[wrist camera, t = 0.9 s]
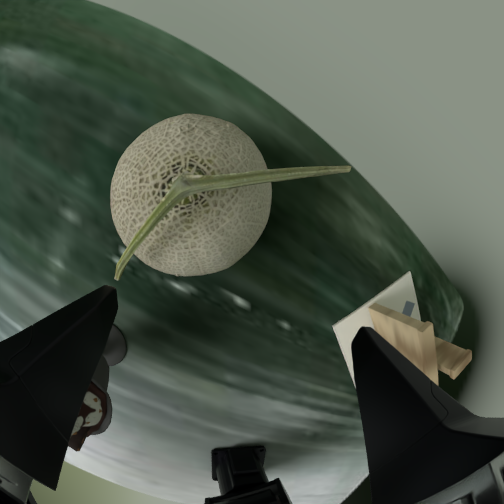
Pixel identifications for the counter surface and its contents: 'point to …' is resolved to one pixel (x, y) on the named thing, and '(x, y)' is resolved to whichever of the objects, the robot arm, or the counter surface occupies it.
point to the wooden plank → (451, 357)
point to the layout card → (393, 297)
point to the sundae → (98, 394)
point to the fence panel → (407, 337)
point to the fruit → (194, 195)
